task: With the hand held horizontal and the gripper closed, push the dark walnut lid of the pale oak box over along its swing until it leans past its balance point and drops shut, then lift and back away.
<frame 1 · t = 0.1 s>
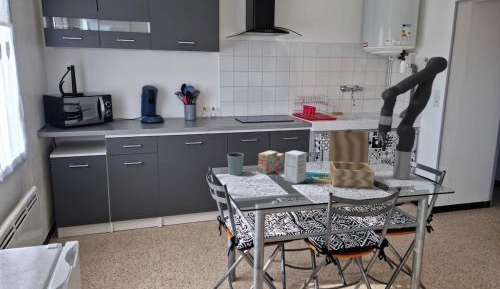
hand: (381, 149, 232), 17 cm above the table, tool pointing down, fingers open, 8 cm apart
oak box: (349, 182, 221), on the table
box lid: (348, 145, 229), point 19 cm above the table, hinge at 110.0°
supplement box: (294, 180, 223), on the table
green cup: (235, 173, 233), on the table
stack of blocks: (271, 170, 243), on the table
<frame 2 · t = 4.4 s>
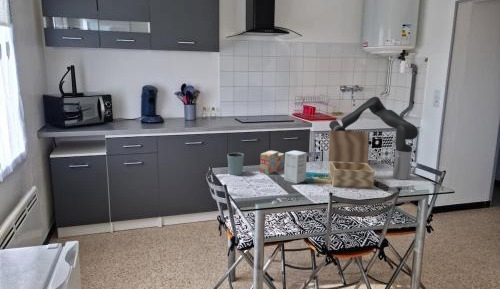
hand: (344, 136, 244), 22 cm above the table, tool horizontal, fingers closed
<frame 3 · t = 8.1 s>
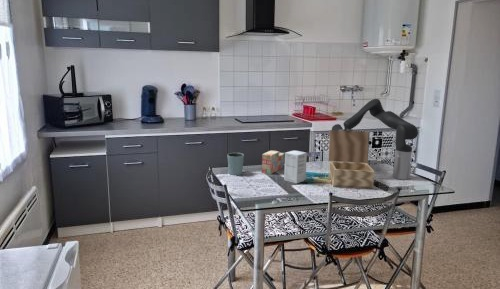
hand: (346, 140, 230), 22 cm above the table, tool horizontal, fingers closed
box lid: (348, 145, 228), point 20 cm above the table, hinge at 105.5°, touching gripper
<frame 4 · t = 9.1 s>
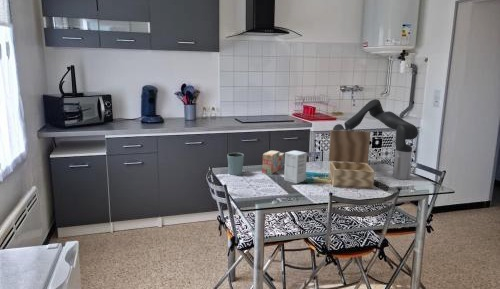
hand: (348, 141, 227), 22 cm above the table, tool horizontal, fingers closed
box lid: (349, 145, 226), point 20 cm above the table, hinge at 92.0°, touching gripper
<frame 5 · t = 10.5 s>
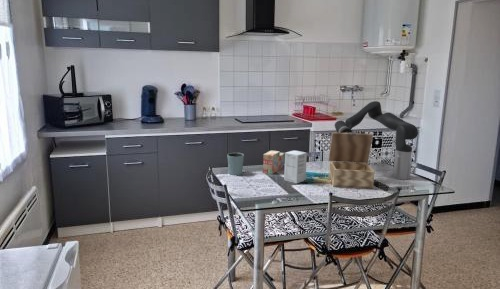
hand: (350, 138, 222), 25 cm above the table, tool horizontal, fingers closed
box lid: (350, 147, 223), point 20 cm above the table, hinge at 73.9°, touching gripper
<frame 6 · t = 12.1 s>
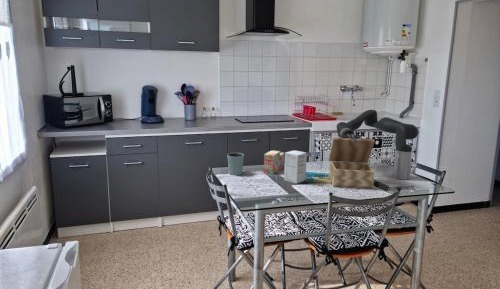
hand: (353, 140, 217), 25 cm above the table, tool horizontal, fingers closed
box lid: (351, 151, 221), point 18 cm above the table, hinge at 55.7°, touching gripper
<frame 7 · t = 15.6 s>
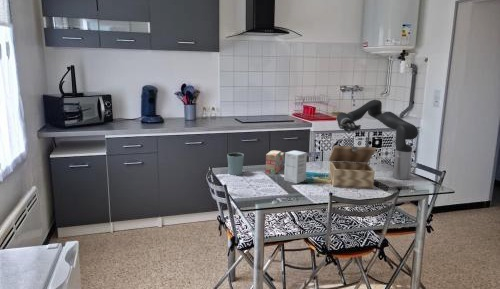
hand: (353, 129, 218), 31 cm above the table, tool horizontal, fingers closed
box lid: (351, 155, 219), point 16 cm above the table, hinge at 37.3°
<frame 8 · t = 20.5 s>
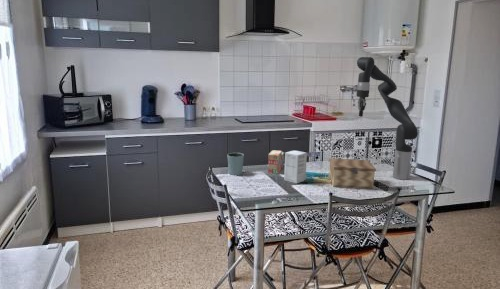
hand: (360, 116, 244), 35 cm above the table, tool pointing down, fingers closed
box lid: (351, 166, 218), point 10 cm above the table, hinge at -0.1°
at the end: box lid at +0° (first picture: +110°); the gripper is holding nothing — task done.
